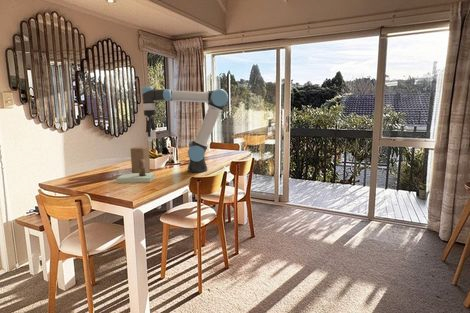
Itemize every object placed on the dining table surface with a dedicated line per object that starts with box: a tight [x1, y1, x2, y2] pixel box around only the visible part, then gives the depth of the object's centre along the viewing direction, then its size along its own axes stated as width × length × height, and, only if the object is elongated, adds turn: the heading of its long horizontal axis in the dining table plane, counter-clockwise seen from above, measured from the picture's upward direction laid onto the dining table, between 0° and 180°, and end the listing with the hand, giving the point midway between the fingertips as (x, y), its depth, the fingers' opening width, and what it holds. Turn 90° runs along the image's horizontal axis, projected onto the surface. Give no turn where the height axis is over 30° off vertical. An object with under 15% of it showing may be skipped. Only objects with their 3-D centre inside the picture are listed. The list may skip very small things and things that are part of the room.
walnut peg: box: [138, 159, 145, 176], centre depth 204 cm, size 4×4×14 cm
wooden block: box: [129, 145, 151, 173], centre depth 221 cm, size 10×10×20 cm
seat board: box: [116, 172, 156, 184], centre depth 205 cm, size 22×14×3 cm, turn 91°
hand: (152, 140), depth 210 cm, fingers open, 13 cm apart
